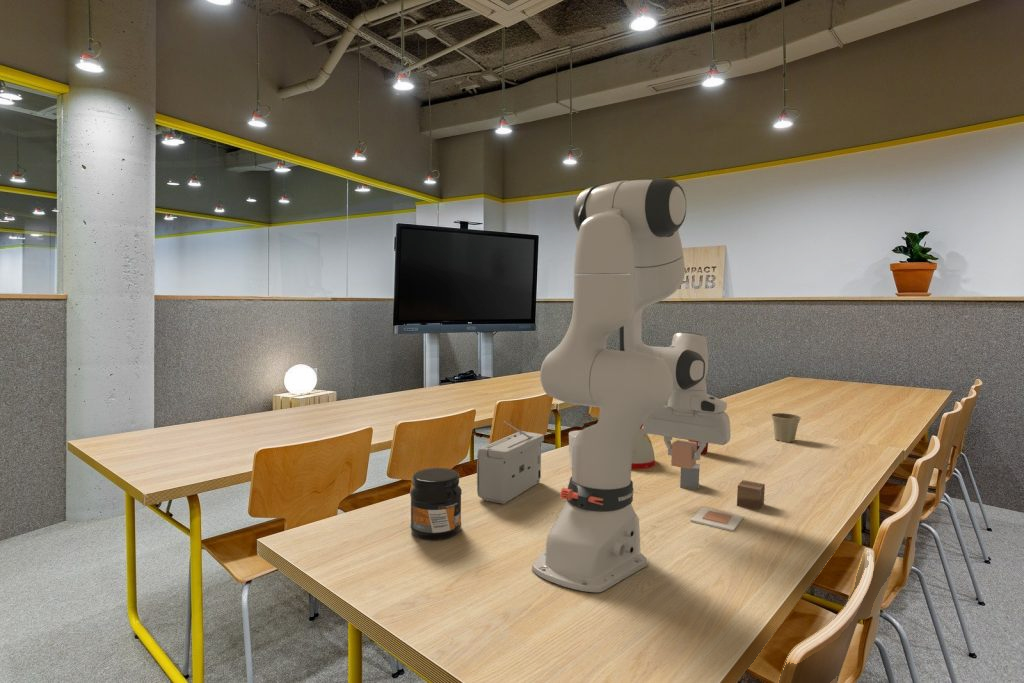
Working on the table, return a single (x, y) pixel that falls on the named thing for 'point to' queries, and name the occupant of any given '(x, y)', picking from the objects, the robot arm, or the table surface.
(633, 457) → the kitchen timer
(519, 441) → the stereo radio cassette player
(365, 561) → the table surface
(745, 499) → the walnut block
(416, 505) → the supplement container
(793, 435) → the flower pot
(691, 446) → the salmon orange block
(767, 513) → the table surface
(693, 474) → the grey block
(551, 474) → the table surface
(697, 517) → the tile
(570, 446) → the white cup
